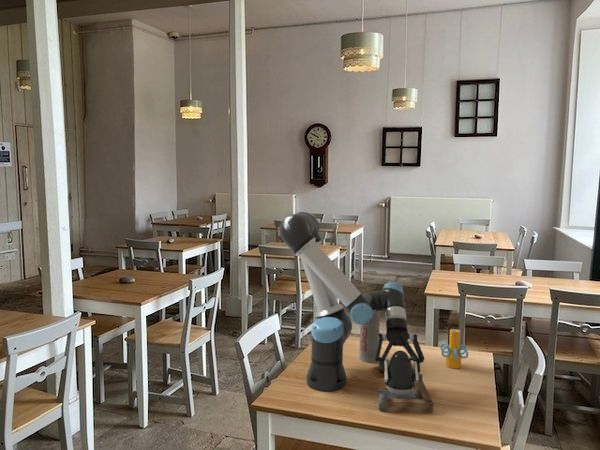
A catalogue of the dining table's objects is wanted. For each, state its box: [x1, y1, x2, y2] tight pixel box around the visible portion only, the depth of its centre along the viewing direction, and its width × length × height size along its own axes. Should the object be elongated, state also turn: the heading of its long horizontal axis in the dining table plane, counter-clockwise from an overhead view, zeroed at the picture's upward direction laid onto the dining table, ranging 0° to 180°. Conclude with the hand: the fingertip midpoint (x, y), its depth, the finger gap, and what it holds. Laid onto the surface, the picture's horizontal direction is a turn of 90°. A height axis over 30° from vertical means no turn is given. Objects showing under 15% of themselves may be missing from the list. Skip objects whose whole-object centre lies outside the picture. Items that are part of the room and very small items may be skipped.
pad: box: [377, 389, 418, 399], centre depth 173 cm, size 13×13×1 cm
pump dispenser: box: [384, 350, 415, 397], centre depth 172 cm, size 10×10×15 cm
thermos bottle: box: [358, 311, 381, 363], centre depth 209 cm, size 8×8×28 cm
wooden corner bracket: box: [378, 372, 434, 414], centre depth 174 cm, size 18×21×5 cm
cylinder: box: [440, 328, 469, 370], centre depth 203 cm, size 12×10×15 cm
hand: (401, 380), depth 169 cm, fingers closed on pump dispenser, 9 cm apart
